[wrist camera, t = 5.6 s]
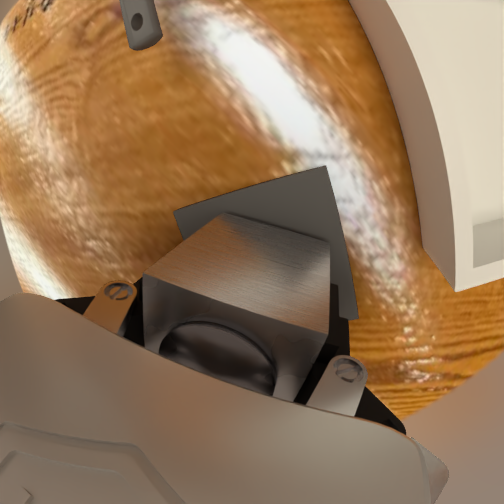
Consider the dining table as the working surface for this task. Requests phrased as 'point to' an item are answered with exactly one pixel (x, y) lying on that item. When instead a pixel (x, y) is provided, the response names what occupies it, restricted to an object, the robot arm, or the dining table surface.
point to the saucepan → (141, 23)
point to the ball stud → (286, 219)
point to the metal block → (241, 304)
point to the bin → (449, 123)
